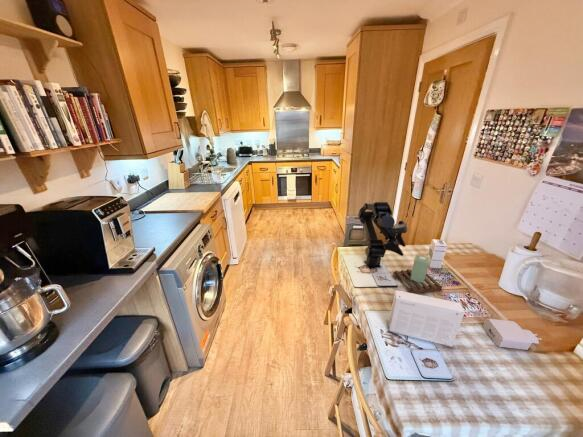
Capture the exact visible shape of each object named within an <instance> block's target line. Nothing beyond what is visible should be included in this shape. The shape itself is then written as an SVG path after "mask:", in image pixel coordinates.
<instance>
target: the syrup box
mask: <svg viewBox="0 0 583 437" xmlns="http://www.w3.org/2000/svg"><path fill="white" fill-rule="evenodd" d="M447 248H448V244H447V243H446V242H445V240H444V239H439V238H437V239H433V238H432V239H431V242H430V246H429V250H428V253H427V256H426V257H429V266H428V268H431V269H441V268H442V265H443V263H444V262H443V261H444V258H445V255H446V251H447Z"/></svg>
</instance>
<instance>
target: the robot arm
mask: <svg viewBox="0 0 583 437" xmlns="http://www.w3.org/2000/svg"><path fill="white" fill-rule="evenodd" d="M357 218H358V219H359V222H360V223H361V224H363V226H364V229H365V232H366V236H367V239H368V244H367V247H366V248H365V249H364V254H365V256H366V258H365V260H364V263H365V265H366V266H367V267H368V268H369V269H377V268H381V267H382V266H381V265H380V264H381V261H382V258H384V257H385V254H386V252H387V251H391V252H393V253H394V254H397V255H399V256H401V257H402V256H404V253H403V251H402V249H401V247H400V246H402V247H403V248H404V247H406V243H405V241H404V238H403V234H406V233H408V226H407V225H408V224H407V223H406V222H405V221H403V220H402V219H401V220H399V221H398V222H397V223H395V222H396V221H395V218H394V217H393V211H392V209H391V206H390V203H389V202H388V201H374V202H365V203H364V204H363V206H362V207H360V209H359V210H358V214H357ZM374 225H375V226H376V227H377V229H378V230H379V234H380V235H381V234H382V235H383V236H384V240H385V242H384V241H383V240H382V239H378V235H377V233H376V229H375V226H374ZM399 245H400V246H399Z"/></svg>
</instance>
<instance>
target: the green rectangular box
mask: <svg viewBox="0 0 583 437" xmlns="http://www.w3.org/2000/svg"><path fill="white" fill-rule="evenodd" d="M428 269H429V257H427V256H424V255H420V254H415V256H414V259H413V264H412V268H411V270H412V271H411V276H410V277H411V280H414V281H415V282H417V283H419V282H421V283H424V284H425V281H424V280H425V278H426V273H427V274H428Z"/></svg>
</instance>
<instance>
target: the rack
mask: <svg viewBox="0 0 583 437" xmlns="http://www.w3.org/2000/svg"><path fill="white" fill-rule="evenodd" d="M411 271H412V269H409V268H407V269H406V270H405V269H400V270H399V271H398V270H395V271H393V272H392V278H394V279H400V280H402V281H403V283H405V284H406V285H407V287H409V288H408V290H407V292H408V293H413V294H418V295H423V294H428V293H435V292H441V291H442V289H443V286H442V284H440V283H439V282H438V281H437V280H435V279H434V278H433V277H432V276H431V275H430V274H429V273H428V272H427V273H426V276H425V280H424V283H421V282H417V281H414V280H411ZM406 278H407V279H406ZM409 281H410V282H411V283H410V282H409ZM430 281H431V282H430ZM413 285H414V286H415V287H414V286H413Z"/></svg>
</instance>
